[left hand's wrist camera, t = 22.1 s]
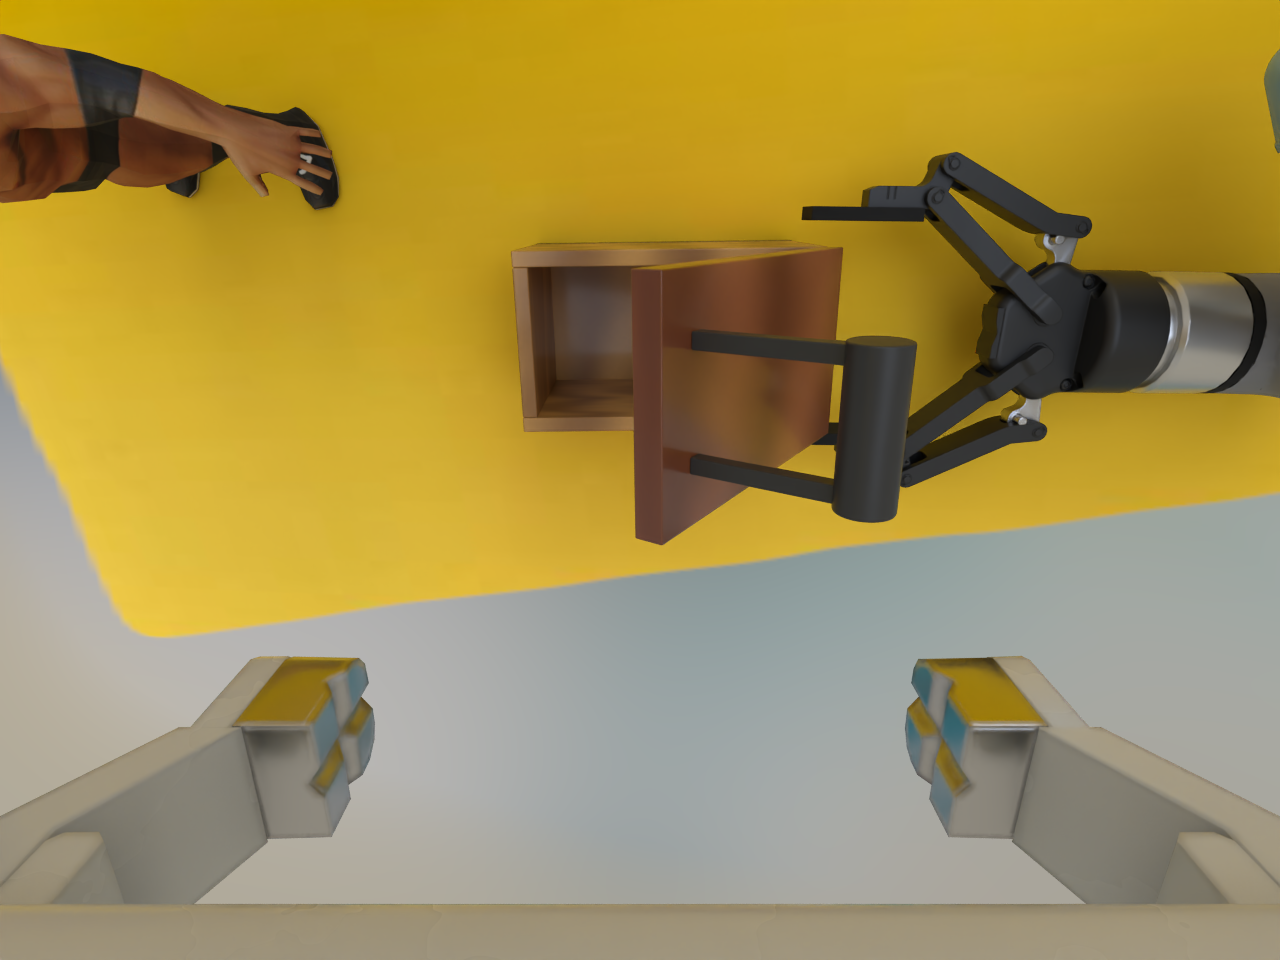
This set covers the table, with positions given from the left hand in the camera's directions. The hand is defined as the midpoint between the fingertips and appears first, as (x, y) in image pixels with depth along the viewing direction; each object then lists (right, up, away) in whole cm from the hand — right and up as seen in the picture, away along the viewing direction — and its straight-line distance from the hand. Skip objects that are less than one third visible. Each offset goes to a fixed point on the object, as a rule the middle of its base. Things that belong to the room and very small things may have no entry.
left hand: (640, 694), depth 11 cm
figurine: (-26, +25, +37) cm, 51 cm away
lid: (+5, +8, +23) cm, 25 cm away
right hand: (+10, +13, +34) cm, 38 cm away
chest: (+2, +15, +40) cm, 43 cm away
